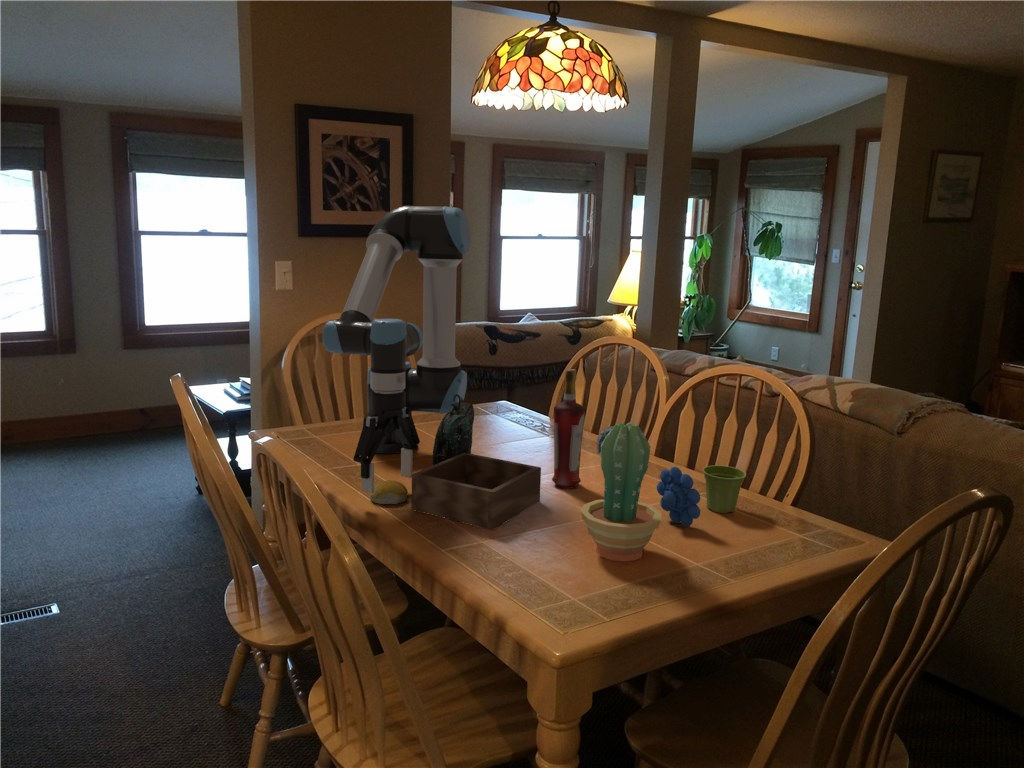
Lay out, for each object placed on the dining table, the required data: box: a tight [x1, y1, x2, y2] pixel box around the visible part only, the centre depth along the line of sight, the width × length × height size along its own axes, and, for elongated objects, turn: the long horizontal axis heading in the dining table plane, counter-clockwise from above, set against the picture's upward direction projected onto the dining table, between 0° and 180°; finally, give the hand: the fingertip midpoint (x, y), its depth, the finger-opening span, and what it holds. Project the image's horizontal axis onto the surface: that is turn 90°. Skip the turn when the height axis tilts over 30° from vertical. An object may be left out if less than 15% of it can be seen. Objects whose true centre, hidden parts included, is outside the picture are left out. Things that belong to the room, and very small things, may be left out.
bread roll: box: [369, 479, 409, 505], centre depth 179 cm, size 8×9×4 cm
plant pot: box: [702, 464, 747, 514], centre depth 178 cm, size 9×9×9 cm
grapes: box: [656, 466, 701, 527], centre depth 167 cm, size 12×7×12 cm, turn 37°
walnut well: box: [411, 452, 542, 531], centre depth 175 cm, size 20×20×8 cm
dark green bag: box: [432, 394, 475, 466], centre depth 195 cm, size 20×6×20 cm, turn 164°
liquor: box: [551, 368, 586, 489], centre depth 189 cm, size 7×7×28 cm
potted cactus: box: [580, 422, 663, 562], centre depth 151 cm, size 15×15×25 cm
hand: (388, 484), depth 178 cm, fingers open, 13 cm apart
